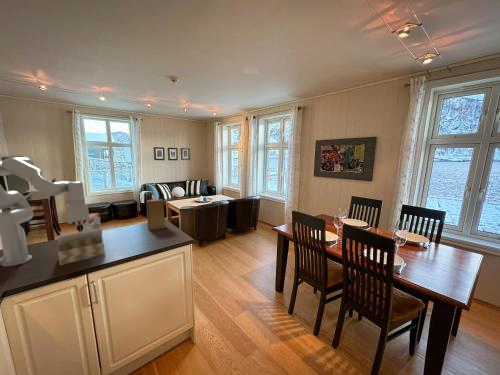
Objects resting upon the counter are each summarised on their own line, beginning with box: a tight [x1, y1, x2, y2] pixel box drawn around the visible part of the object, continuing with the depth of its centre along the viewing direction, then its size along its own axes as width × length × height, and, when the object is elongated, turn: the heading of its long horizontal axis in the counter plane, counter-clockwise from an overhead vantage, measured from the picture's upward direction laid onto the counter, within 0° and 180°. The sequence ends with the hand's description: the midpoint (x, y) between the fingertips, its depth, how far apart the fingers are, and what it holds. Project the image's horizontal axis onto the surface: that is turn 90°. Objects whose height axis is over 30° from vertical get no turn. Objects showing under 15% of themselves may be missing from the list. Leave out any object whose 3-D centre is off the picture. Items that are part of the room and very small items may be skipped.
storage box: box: [57, 235, 106, 266], centre depth 137 cm, size 22×14×8 cm, turn 129°
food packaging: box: [146, 198, 166, 231], centre depth 188 cm, size 13×9×25 cm
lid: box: [56, 227, 103, 245], centre depth 137 cm, size 22×14×1 cm
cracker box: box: [79, 212, 102, 239], centre depth 154 cm, size 14×6×21 cm, turn 8°
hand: (80, 231), depth 132 cm, fingers closed
